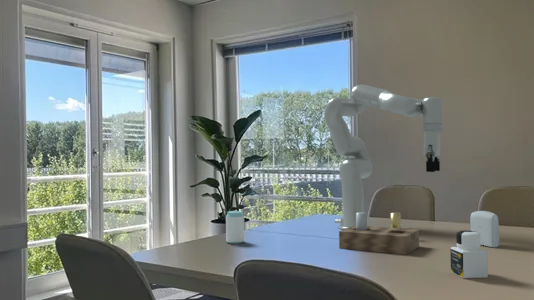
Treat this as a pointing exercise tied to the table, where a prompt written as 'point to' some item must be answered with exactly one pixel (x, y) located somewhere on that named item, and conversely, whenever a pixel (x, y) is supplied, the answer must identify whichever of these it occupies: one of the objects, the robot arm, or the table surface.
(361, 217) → the grey pin
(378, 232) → the bore block
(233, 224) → the can
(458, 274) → the medicine bottle
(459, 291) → the table surface
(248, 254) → the table surface
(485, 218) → the photo printer
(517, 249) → the table surface
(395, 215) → the brass pin
